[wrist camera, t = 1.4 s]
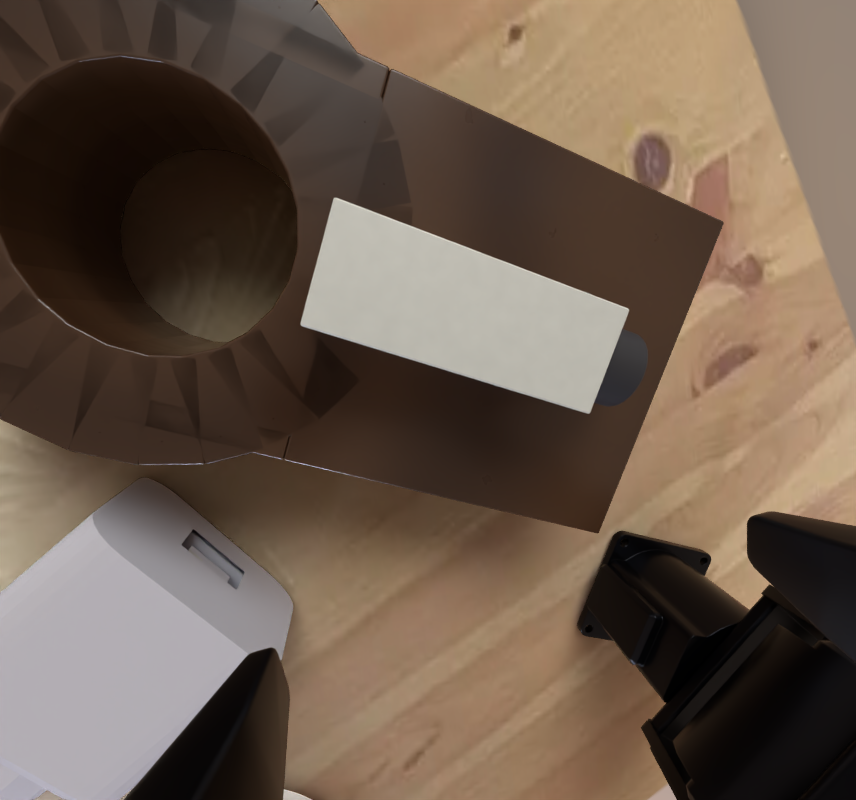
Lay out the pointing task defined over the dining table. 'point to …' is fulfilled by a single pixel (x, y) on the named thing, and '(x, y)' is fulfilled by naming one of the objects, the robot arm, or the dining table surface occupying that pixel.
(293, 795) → the candle holder
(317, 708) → the dining table surface
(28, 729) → the charger
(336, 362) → the wooden desk organizer
